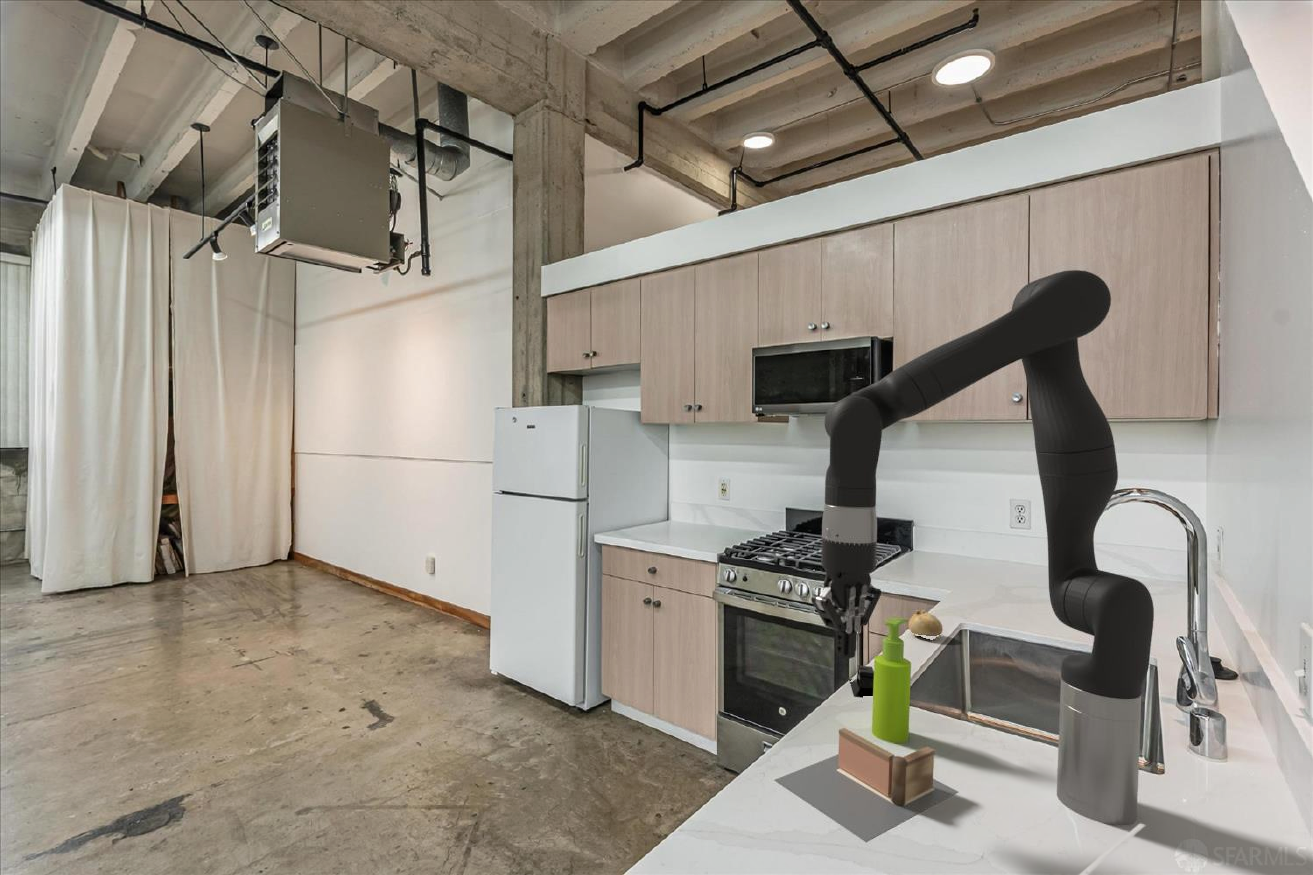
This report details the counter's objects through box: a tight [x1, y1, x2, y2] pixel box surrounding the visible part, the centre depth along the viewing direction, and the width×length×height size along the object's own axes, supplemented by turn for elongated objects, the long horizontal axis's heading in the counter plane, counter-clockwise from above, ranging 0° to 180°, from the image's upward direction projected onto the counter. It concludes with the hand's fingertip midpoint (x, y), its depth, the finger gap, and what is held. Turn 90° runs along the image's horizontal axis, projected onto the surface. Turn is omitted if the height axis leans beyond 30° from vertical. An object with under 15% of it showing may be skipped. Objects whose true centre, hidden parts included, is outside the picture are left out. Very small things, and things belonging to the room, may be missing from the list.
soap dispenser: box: [871, 616, 912, 744], centre depth 106 cm, size 6×7×20 cm
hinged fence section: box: [837, 727, 895, 796], centre depth 91 cm, size 9×1×6 cm, turn 32°
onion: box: [908, 609, 943, 636], centre depth 160 cm, size 8×8×7 cm
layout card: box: [773, 753, 959, 843], centre depth 90 cm, size 21×16×1 cm
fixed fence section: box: [891, 746, 936, 806], centre depth 88 cm, size 8×2×6 cm, turn 124°
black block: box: [848, 664, 874, 699], centre depth 126 cm, size 12×7×5 cm, turn 169°
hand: (845, 656), depth 89 cm, fingers closed
